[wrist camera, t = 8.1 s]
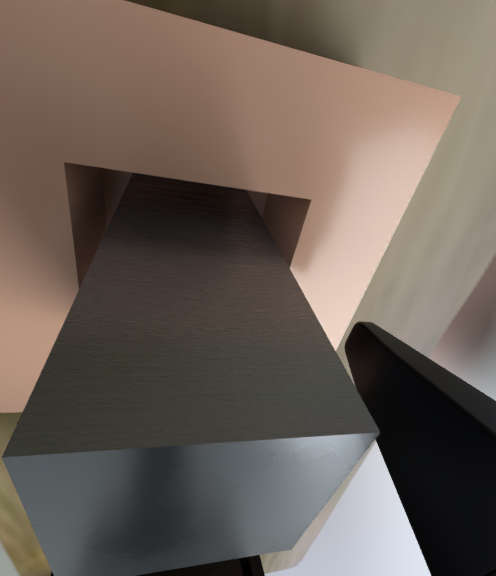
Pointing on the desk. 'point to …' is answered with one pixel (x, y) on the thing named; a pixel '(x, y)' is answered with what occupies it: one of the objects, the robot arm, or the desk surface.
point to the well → (189, 153)
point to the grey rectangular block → (184, 396)
